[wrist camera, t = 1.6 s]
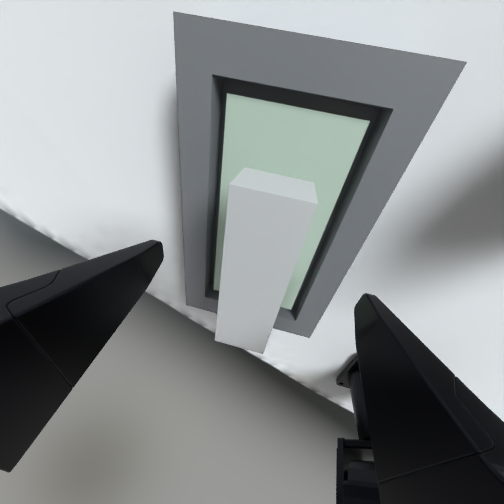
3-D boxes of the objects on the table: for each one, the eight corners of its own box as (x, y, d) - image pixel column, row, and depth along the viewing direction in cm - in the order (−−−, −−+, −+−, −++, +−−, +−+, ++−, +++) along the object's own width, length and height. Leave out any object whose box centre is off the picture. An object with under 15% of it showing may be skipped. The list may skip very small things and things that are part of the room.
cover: (291, 299, 16) (287, 381, 11) (217, 280, 17) (183, 351, 12) (364, 120, 9) (432, 133, 4) (233, 94, 10) (163, 82, 5)
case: (308, 303, 19) (309, 337, 16) (202, 276, 20) (186, 304, 17) (418, 75, 10) (466, 62, 7) (208, 38, 10) (173, 11, 7)
